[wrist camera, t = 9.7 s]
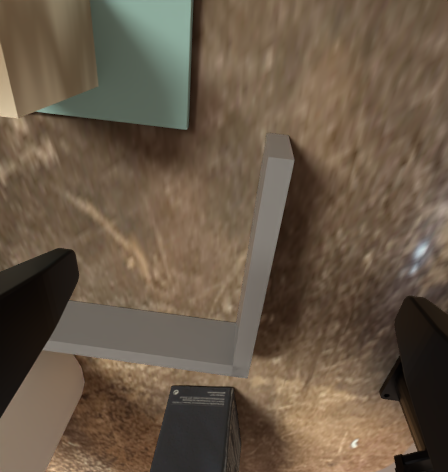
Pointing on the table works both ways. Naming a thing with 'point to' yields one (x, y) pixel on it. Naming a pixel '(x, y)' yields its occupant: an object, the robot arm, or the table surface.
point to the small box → (199, 431)
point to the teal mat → (138, 64)
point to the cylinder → (40, 412)
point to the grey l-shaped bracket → (183, 327)
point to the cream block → (44, 53)
